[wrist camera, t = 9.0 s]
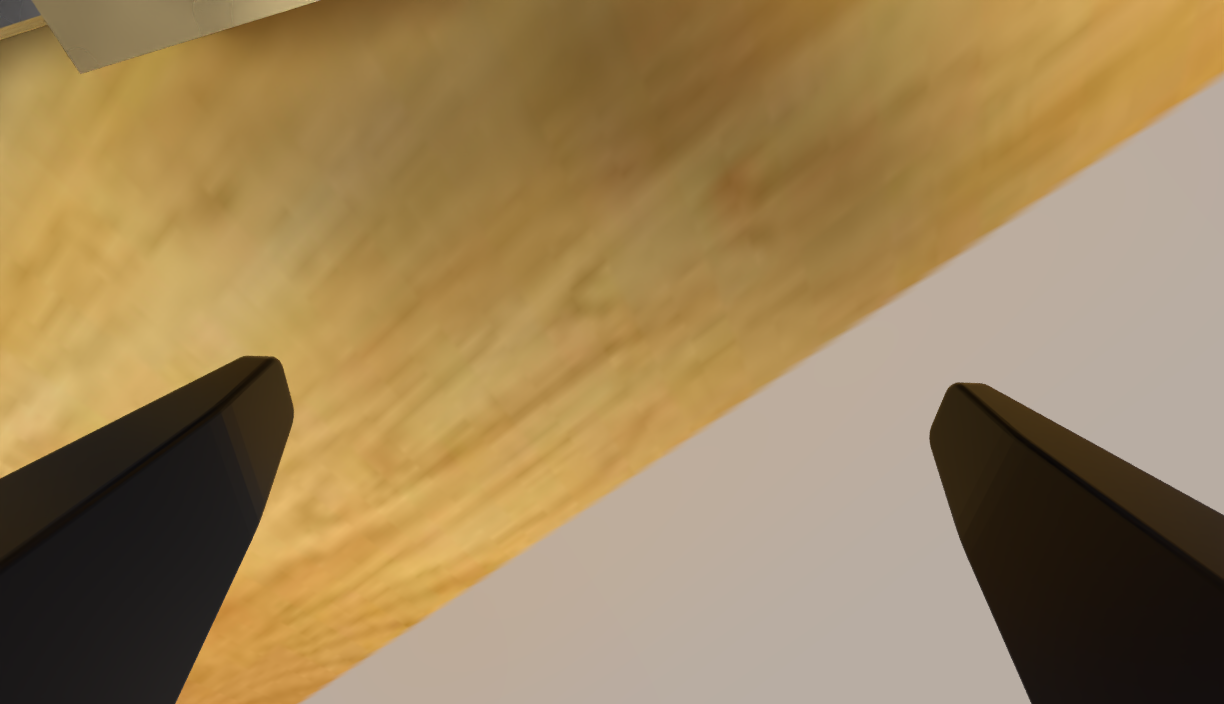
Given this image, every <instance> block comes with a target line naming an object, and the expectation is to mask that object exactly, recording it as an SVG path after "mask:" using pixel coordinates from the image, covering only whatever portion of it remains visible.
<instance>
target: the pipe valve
mask: <svg viewBox="0 0 1224 704" xmlns="http://www.w3.org/2000/svg"><path fill="white" fill-rule="evenodd" d="M317 1H320V0H0V40H2V39H5V38H8V37H11V36H15V35H18V34H21V33H24V32H27V31H30V30H33V29H36V28H40V27H43V26H46V25H48V26H49V27H50V29H51V30H52V32H53V33H54V35H55V36H56V38H57V39H58V41H59V42H60V44H61V46H62V47H63V49H64V50H65V52H66V53H67V55H68V56H69V58H70V59H71V61H72V62H73V64H74V65H75V67H76V68H77V70H78V71H79V73H80V74H82V73H85V72H89V71H92V70H95V69H98V68H102V67H105V66H108V65H111V64H115V63H118V62H121V61H124V60H128V59H131V58H134V57H137V56H141V55H144V54H147V53H150V52H154V51H157V50H160V49H163V48H167V47H170V46H173V45H177V44H180V43H183V42H186V41H190V40H193V39H196V38H199V37H203V36H206V35H209V34H212V33H216V32H219V31H222V30H225V29H229V28H232V27H235V26H238V25H242V24H245V23H248V22H251V21H255V20H258V19H261V18H264V17H268V16H271V15H274V14H277V13H281V12H284V11H287V10H290V9H294V8H297V7H300V6H304V5H307V4H310V3H313V2H317Z"/></svg>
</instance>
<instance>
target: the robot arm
mask: <svg viewBox="0 0 1224 704" xmlns="http://www.w3.org/2000/svg"><path fill="white" fill-rule="evenodd" d="M293 418H294V408H293V403H292V399H291V396H290V392H289V388H288V384H287V381H286V377H285V373H284V369H283V366H282V364H281V362H280V361H279V360H278V359H276V358H275V357H268V356H243V357H240V358H238V359H236V360H234V361H232V362H230V363H228V364H226V365H225V366H223V367H221V368H219V369H217V370H215V371H213V372H211V373H209V374H207V375H205V376H203V377H201V378H199V379H197V380H195V381H193V382H191V383H189V384H187V385H185V386H183V387H181V388H179V389H177V390H175V391H173V392H171V393H169V394H167V395H165V396H163V397H161V398H159V399H157V400H155V401H153V402H151V403H149V404H147V405H145V406H143V407H141V408H139V409H137V410H135V411H133V412H131V413H129V414H127V415H125V416H123V417H121V418H119V419H117V420H116V421H114V422H112V423H110V424H108V425H106V426H104V427H102V428H100V429H98V430H96V431H94V432H92V433H90V434H88V435H86V436H84V437H82V438H80V439H78V440H76V441H74V442H72V443H70V444H68V445H66V446H64V447H62V448H60V449H58V450H56V451H54V452H52V453H50V454H48V455H46V456H44V457H42V458H40V459H38V460H36V461H34V462H32V463H30V464H28V465H26V466H24V467H22V468H20V469H18V470H16V471H14V472H12V473H10V474H8V475H7V476H5V477H3V478H1V479H0V704H175V703H176V701H177V699H178V697H179V695H180V692H181V690H182V688H183V686H184V684H185V682H186V680H187V678H188V675H189V673H190V671H191V669H192V667H193V665H194V663H195V660H196V658H197V656H198V654H199V652H200V650H201V648H202V645H203V643H204V641H205V639H206V637H207V635H208V633H209V630H210V628H211V626H212V624H213V622H214V620H215V618H216V616H217V613H218V611H219V609H220V607H221V605H222V603H223V601H224V598H225V596H226V594H227V592H228V590H229V588H230V586H231V583H232V581H233V579H234V577H235V575H236V573H237V571H238V569H239V566H240V564H241V562H242V560H243V558H244V556H245V554H246V551H247V549H248V547H249V545H250V543H251V541H252V539H253V536H254V534H255V532H256V529H257V527H258V525H259V522H260V520H261V517H262V514H263V511H264V509H265V506H266V503H267V500H268V497H269V494H270V491H271V488H272V485H273V482H274V479H275V476H276V473H277V470H278V466H279V463H280V460H281V457H282V454H283V451H284V448H285V445H286V442H287V439H288V436H289V433H290V430H291V427H292V423H293ZM929 439H930V445H931V449H932V452H933V456H934V459H935V462H936V466H937V469H938V472H939V475H940V478H941V482H942V485H943V488H944V491H945V494H946V498H947V501H948V504H949V507H950V510H951V513H952V517H953V520H954V523H955V526H956V529H957V532H958V535H959V538H960V540H961V543H962V546H963V548H964V550H965V553H966V555H967V558H968V560H969V562H970V564H971V567H972V569H973V572H974V574H975V576H976V578H977V581H978V583H979V585H980V587H981V590H982V592H983V594H984V597H985V599H986V601H987V603H988V606H989V608H990V610H991V613H992V615H993V617H994V619H995V622H996V624H997V626H998V629H999V631H1000V633H1001V635H1002V638H1003V640H1004V642H1005V644H1006V647H1007V649H1008V651H1009V654H1010V656H1011V658H1012V660H1013V663H1014V665H1015V667H1016V670H1017V672H1018V674H1019V676H1020V679H1021V681H1022V683H1023V685H1024V688H1025V690H1026V692H1027V695H1028V697H1029V699H1030V702H1031V704H1224V515H1222V514H1221V513H1219V512H1217V511H1215V510H1213V509H1211V508H1210V507H1208V506H1206V505H1204V504H1202V503H1201V502H1199V501H1197V500H1195V499H1193V498H1192V497H1190V496H1188V495H1186V494H1184V493H1182V492H1180V491H1179V490H1177V489H1175V488H1173V487H1172V486H1170V485H1168V484H1166V483H1164V482H1162V481H1161V480H1159V479H1157V478H1155V477H1153V476H1152V475H1150V474H1148V473H1146V472H1144V471H1142V470H1141V469H1139V468H1137V467H1135V466H1133V465H1132V464H1130V463H1128V462H1126V461H1124V460H1122V459H1121V458H1119V457H1117V456H1115V455H1113V454H1112V453H1110V452H1108V451H1106V450H1104V449H1103V448H1101V447H1099V446H1097V445H1095V444H1093V443H1092V442H1090V441H1088V440H1086V439H1084V438H1082V437H1081V436H1079V435H1077V434H1075V433H1073V432H1072V431H1070V430H1068V429H1066V428H1064V427H1062V426H1061V425H1059V424H1057V423H1055V422H1053V421H1052V420H1050V419H1048V418H1046V417H1044V416H1043V415H1041V414H1039V413H1037V412H1035V411H1033V410H1032V409H1030V408H1028V407H1026V406H1024V405H1023V404H1021V403H1019V402H1017V401H1015V400H1013V399H1011V398H1010V397H1008V396H1006V395H1004V394H1003V393H1001V392H999V391H997V390H995V389H993V388H992V387H990V386H988V385H986V384H982V383H955V384H953V385H951V386H950V387H949V388H948V389H947V391H946V393H945V396H944V398H943V400H942V403H941V405H940V407H939V410H938V412H937V414H936V417H935V419H934V422H933V424H932V426H931V430H930V438H929Z"/></svg>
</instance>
